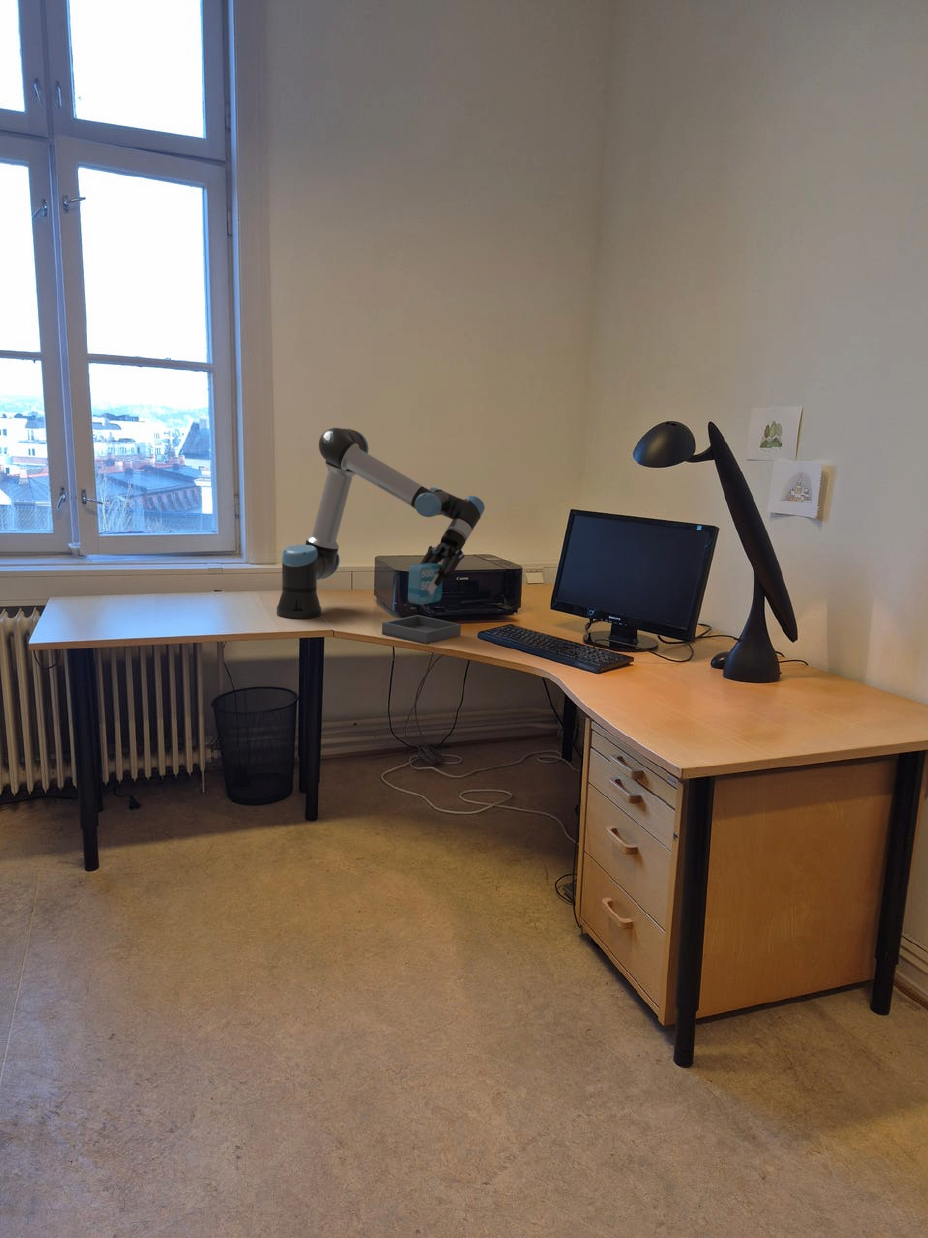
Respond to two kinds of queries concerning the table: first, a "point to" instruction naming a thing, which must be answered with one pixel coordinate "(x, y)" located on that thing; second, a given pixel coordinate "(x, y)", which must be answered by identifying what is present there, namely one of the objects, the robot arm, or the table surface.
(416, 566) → the blue printed box
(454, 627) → the tray
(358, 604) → the table surface
